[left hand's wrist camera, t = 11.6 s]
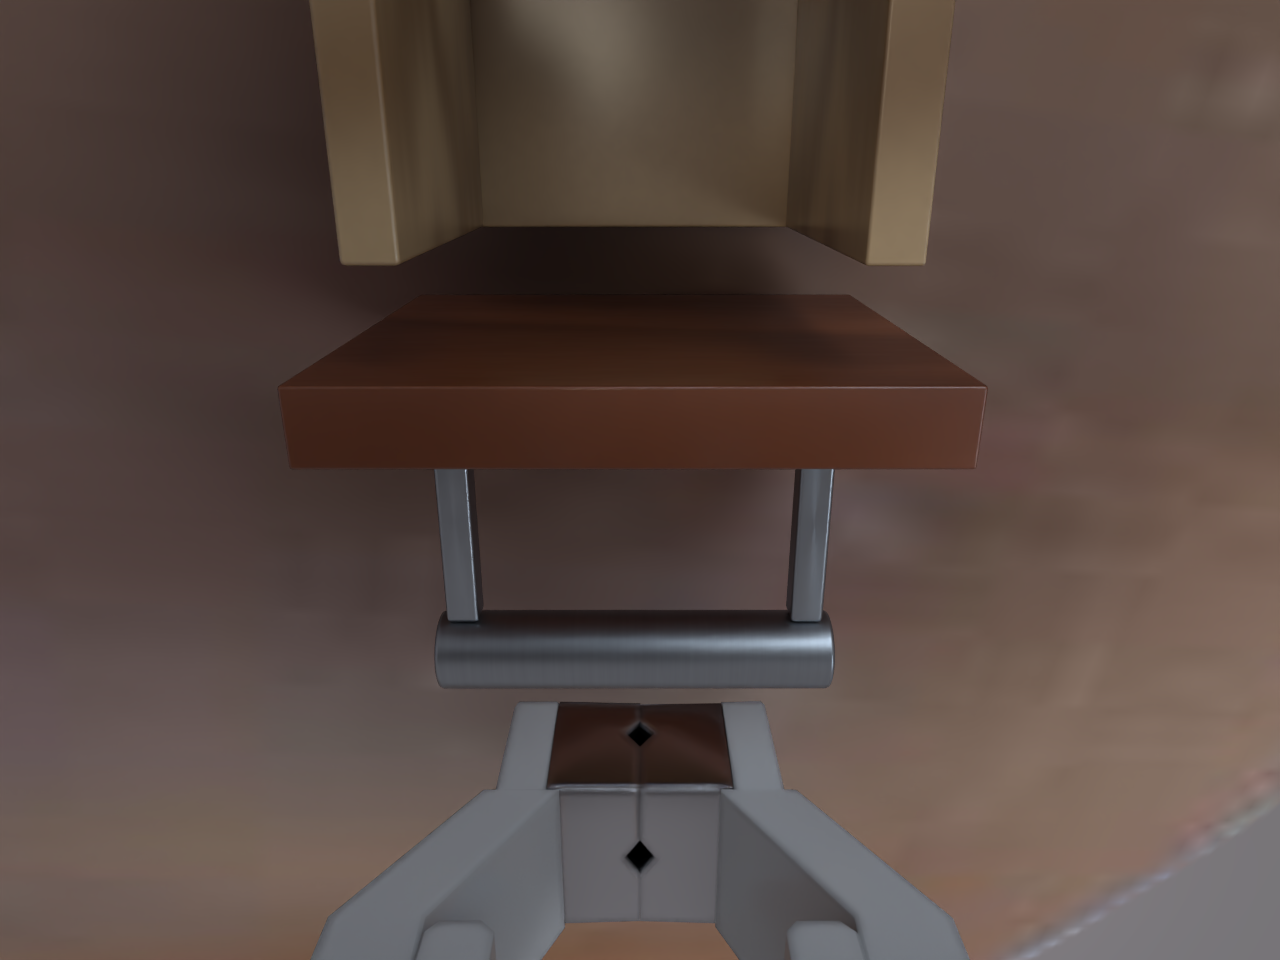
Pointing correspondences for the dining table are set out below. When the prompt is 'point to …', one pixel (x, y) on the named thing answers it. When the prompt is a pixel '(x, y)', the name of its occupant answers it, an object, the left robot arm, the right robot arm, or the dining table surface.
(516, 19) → the drawer
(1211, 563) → the dining table surface
